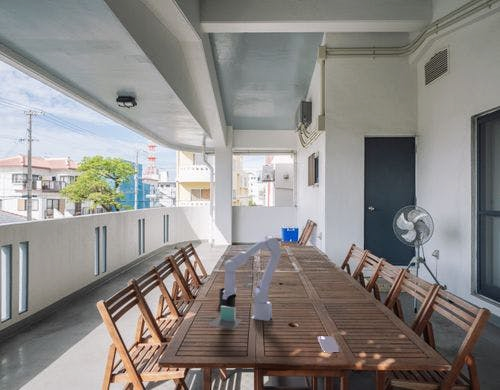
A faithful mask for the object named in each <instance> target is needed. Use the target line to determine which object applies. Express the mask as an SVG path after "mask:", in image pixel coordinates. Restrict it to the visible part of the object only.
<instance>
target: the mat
mask: <svg viewBox="0 0 500 390" xmlns="http://www.w3.org/2000/svg"><path fill="white" fill-rule="evenodd" d="M242 321H243V319H240V318H236V321H235V322H234V321H227V320H221V315H218V316H217V317H216V318H215V319H213V320H212V321H211V322H210V323H209V324H208V326H209V327H216V328H221V329H229V330H235V329H236V328H237V326H239V325H240V323H241V322H242Z"/></svg>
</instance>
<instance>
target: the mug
mask: <svg viewBox="0 0 500 390" xmlns="http://www.w3.org/2000/svg"><path fill="white" fill-rule="evenodd" d="M223 290H225V287H222V288H220V289H219V293H218V294H219V302H218V304H219V306H220V307H221V306H227V304H226V301H225V299H223V295H224V293H223ZM233 307H236V298H235V299H234V303H233Z"/></svg>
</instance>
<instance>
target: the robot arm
mask: <svg viewBox="0 0 500 390" xmlns="http://www.w3.org/2000/svg"><path fill="white" fill-rule="evenodd" d="M261 250H268V251H269V253H270V255H269V259H268V262H267V263H266V267H265V269H264V272H263V274H262V276H261V278H260V281H259V282H258V283H257V286H256V287H255V288H254V289H253V296H255V297H254V298H253V315H252V317H251V319H253V320H260V321H266V322H269V321H270V320H271V318H272V317H273V305H272V302H271V301H268V299H269V291H270V284H271V282H272V281H273V280H272V279H273V276H274V274H275V271H276V269H277V266H278V264H279V261H280V259H281V257H282V252H281V243H280V242H279V240H278V239H277V238H276V237H274V236H272V235H266V236H264V237H262V238H261V239H259V241H258V242H256V243H255V244H254V245H252V246H251V247H249V248H248V249H247V250H246V251H239V252H237V253H236V255H234V256H233V257H230V258H229V259H227V260H226V261H225V263H224V265H223V266H224V267H223V268H224V269H225V270H224V288H225V290H223V293H224V295H223V299H225V301H226V304H227V306H228V307H234V306H233V303H234V299H235V300H236V297H237V294H236V293H237V291H238V288H237V287H236V271H237V268H239V267H240V266H242V265H243V264H245V263H246V262H247V261H248V260H249V257H251V256H252V255H254V254H256V253H257V252H259V251H261Z"/></svg>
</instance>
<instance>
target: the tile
mask: <svg viewBox="0 0 500 390" xmlns="http://www.w3.org/2000/svg"><path fill="white" fill-rule="evenodd" d="M236 311H237V308H236V306H233V307H228V306H220V316H221V320H227V321H234V322H235V321H236V319H237V318H236V317H237V316H236Z"/></svg>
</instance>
